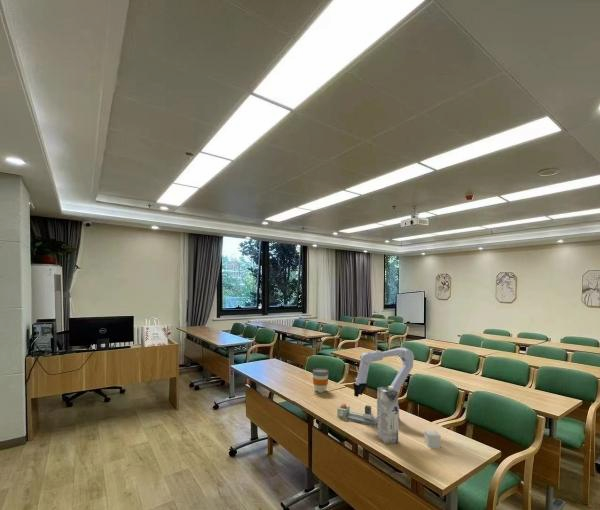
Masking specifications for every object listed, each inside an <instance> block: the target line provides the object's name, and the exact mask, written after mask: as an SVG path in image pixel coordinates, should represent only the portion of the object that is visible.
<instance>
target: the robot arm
mask: <svg viewBox="0 0 600 510" xmlns="http://www.w3.org/2000/svg"><path fill="white" fill-rule="evenodd" d="M394 356H397V357H399V358H400V360H401V361H402V365H401V367H400V369H399V371H398V372H397V374H396V376H395V377H394V379H393V380H392V382H391V384H390V386H393V387H394V390H395V391H397V392H398V393H399V391H400V389H401V388H402V386H403V384H404V382H405V381H406V380H407V378H408V376H409V374H410V372H411V371H412V369H413V367H414V359H415V355H414V353H413V351H412V350H410V349H408V348H405V346H404V347H396V348H393V349H392V348H391V349H388V350H384V351H381V350H378V349H376V350H375V351H368V352H363V353H361V354H360V362H359V367H358V370H357V371H358V372H357V376H356V377H355V378H354V380H356V381H355V382H353V383H352V384H353V389H354V393H353V395H354V397H356V398H358V397H359V395H360V396H362V395H363V393H364V391H365V389H366V387H367V386H368V383H367V379H368V374H369V370H370V364H372V363H374V362H378V361H379V362H380V361H382V360H383V359H384V358H388V357H389V358H390V357H394ZM399 420H400V406H399V405H398V421H399Z"/></svg>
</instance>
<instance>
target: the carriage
mask: <svg viewBox="0 0 600 510" xmlns="http://www.w3.org/2000/svg"><path fill="white" fill-rule="evenodd" d="M362 414H363V418H366V419H371V420H372V417H373V416H374V412H372V406H371V405H369V404H368V405H367V404H366V405H365V406H364V412H363V413H362Z"/></svg>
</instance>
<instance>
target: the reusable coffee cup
mask: <svg viewBox="0 0 600 510" xmlns="http://www.w3.org/2000/svg"><path fill="white" fill-rule="evenodd" d="M329 373H330V372H329V369H327V368H314V369H312V383H313V387H314V388H313V389H314V392H316V391H318V392H317V393H324V392H323V391H325V392H326V391H327V385H329V384H328V383H329Z"/></svg>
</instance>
